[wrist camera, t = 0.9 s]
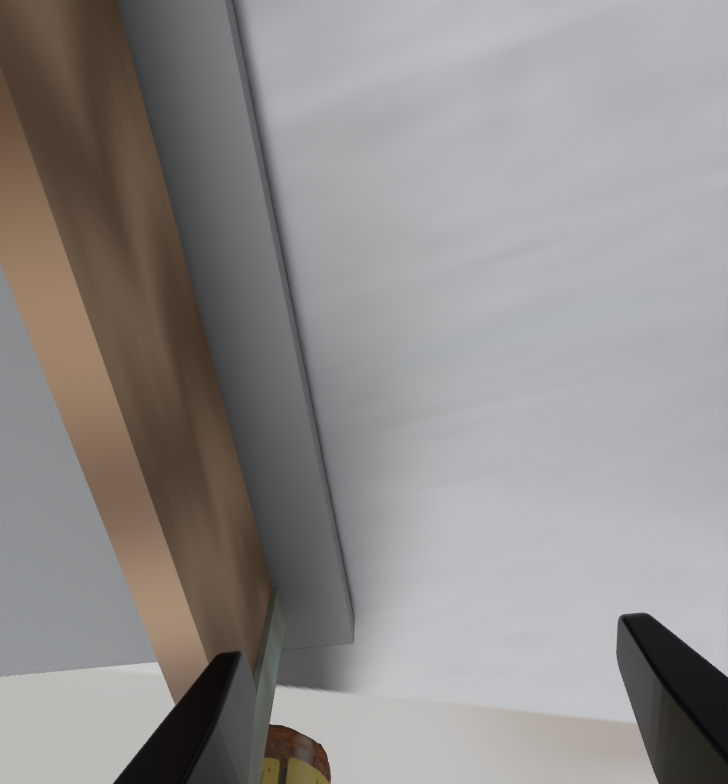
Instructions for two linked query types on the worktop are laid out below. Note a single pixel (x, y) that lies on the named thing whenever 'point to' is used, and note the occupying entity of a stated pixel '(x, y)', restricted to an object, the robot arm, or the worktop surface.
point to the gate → (128, 342)
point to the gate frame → (231, 363)
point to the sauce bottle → (293, 759)
